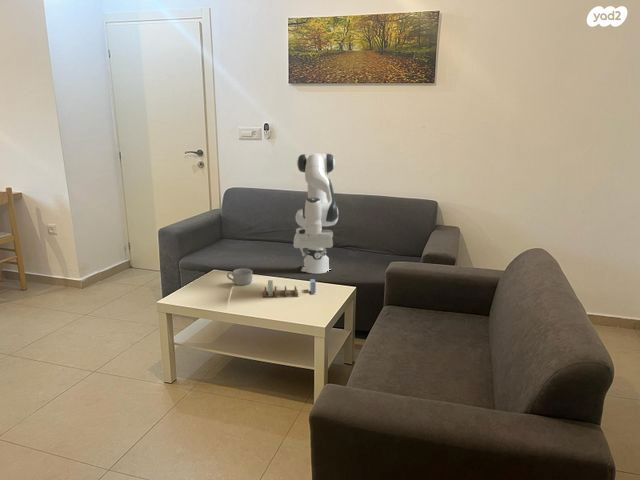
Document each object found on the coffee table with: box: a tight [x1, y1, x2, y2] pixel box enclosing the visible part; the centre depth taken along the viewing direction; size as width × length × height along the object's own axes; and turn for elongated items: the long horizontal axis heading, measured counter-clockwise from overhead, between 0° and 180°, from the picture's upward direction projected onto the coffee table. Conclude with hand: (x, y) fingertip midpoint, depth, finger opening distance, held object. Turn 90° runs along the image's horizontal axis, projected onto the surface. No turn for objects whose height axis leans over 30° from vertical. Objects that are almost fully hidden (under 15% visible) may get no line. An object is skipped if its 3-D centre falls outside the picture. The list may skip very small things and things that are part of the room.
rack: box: [262, 285, 300, 299], centre depth 241 cm, size 12×18×4 cm, turn 96°
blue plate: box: [309, 278, 317, 295], centre depth 246 cm, size 6×2×6 cm, turn 6°
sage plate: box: [267, 280, 274, 296], centre depth 240 cm, size 6×2×6 cm, turn 6°
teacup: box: [226, 268, 253, 286], centre depth 259 cm, size 14×11×8 cm
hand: (312, 256), depth 242 cm, fingers open, 8 cm apart
